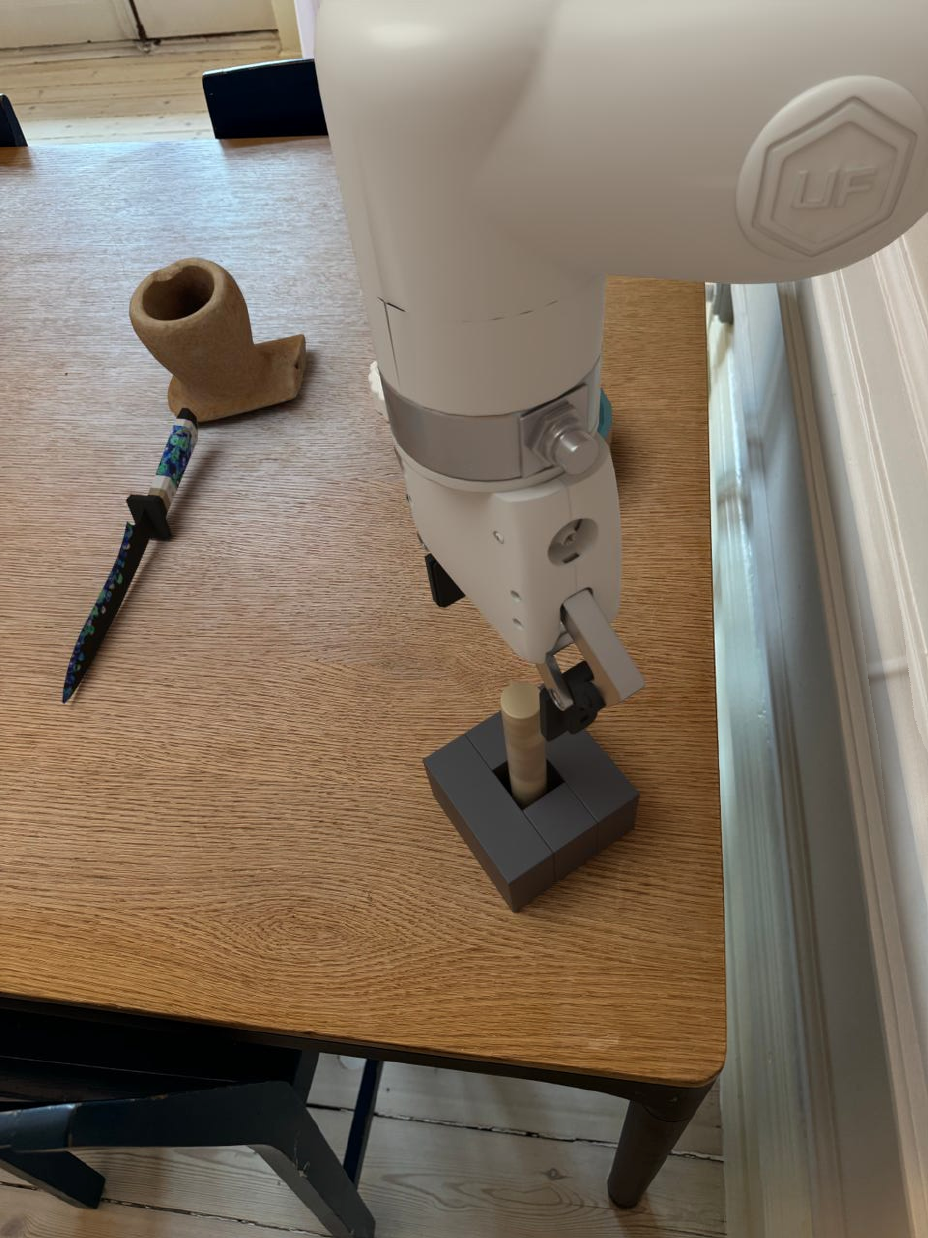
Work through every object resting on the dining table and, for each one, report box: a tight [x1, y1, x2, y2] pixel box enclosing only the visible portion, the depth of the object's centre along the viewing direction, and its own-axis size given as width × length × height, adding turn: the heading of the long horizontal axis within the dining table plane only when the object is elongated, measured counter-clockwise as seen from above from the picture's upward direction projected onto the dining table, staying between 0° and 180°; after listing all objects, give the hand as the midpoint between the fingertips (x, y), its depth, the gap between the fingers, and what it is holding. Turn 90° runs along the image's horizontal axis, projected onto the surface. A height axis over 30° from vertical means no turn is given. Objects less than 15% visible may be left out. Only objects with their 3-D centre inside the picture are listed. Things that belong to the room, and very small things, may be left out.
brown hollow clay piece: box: [128, 257, 307, 423], centre depth 84 cm, size 15×12×15 cm
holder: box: [422, 683, 641, 914], centre depth 58 cm, size 10×10×6 cm
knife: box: [61, 408, 199, 705], centre depth 76 cm, size 31×3×4 cm, turn 165°
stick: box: [499, 681, 548, 811], centre depth 54 cm, size 2×2×16 cm
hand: (512, 653), depth 43 cm, fingers open, 9 cm apart
